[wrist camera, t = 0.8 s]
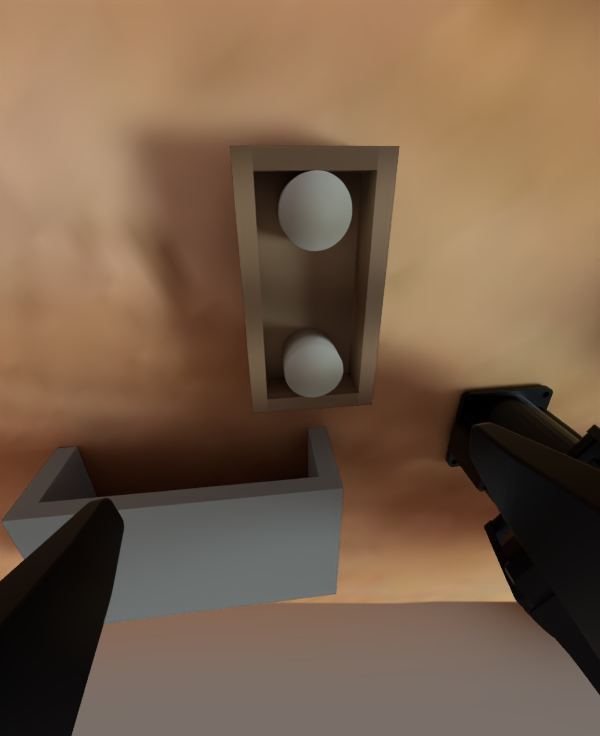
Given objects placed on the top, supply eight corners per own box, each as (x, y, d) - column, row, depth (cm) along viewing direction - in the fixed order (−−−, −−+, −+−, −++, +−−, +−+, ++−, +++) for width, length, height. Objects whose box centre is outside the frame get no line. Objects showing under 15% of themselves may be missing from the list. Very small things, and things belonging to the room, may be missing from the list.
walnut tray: (234, 154, 16) (229, 145, 13) (372, 153, 16) (400, 145, 13) (253, 380, 21) (253, 414, 18) (355, 374, 22) (372, 405, 19)
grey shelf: (325, 426, 24) (343, 488, 19) (322, 524, 28) (336, 594, 23) (56, 447, 22) (1, 521, 17) (100, 548, 27) (66, 628, 22)
